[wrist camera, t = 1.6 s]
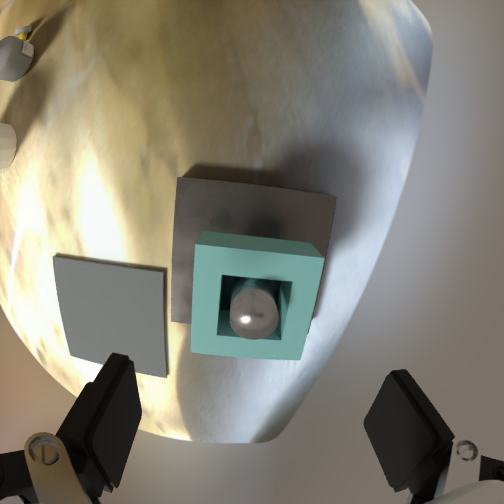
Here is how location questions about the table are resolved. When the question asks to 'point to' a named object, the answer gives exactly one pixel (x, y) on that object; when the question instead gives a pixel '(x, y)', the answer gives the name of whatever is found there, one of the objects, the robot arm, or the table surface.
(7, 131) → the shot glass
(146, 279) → the slate mat
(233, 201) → the ring stand
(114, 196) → the table surface
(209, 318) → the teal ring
